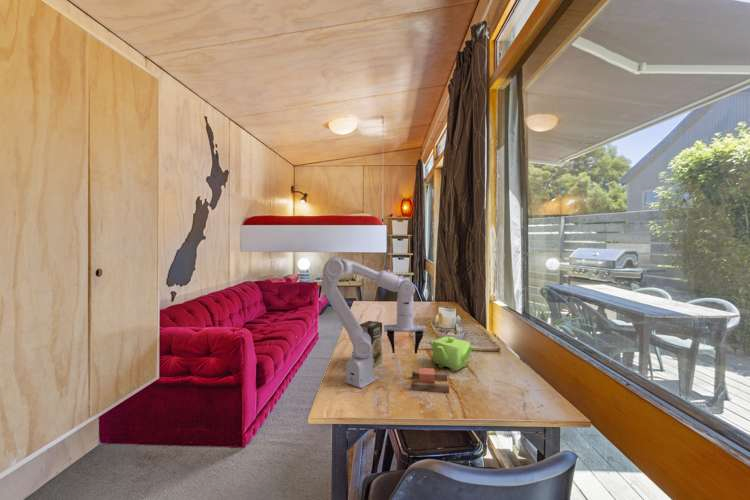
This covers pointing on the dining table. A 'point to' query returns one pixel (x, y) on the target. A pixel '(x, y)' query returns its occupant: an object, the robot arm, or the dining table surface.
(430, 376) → the block
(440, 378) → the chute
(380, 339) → the coffee box
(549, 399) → the dining table surface
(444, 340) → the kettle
